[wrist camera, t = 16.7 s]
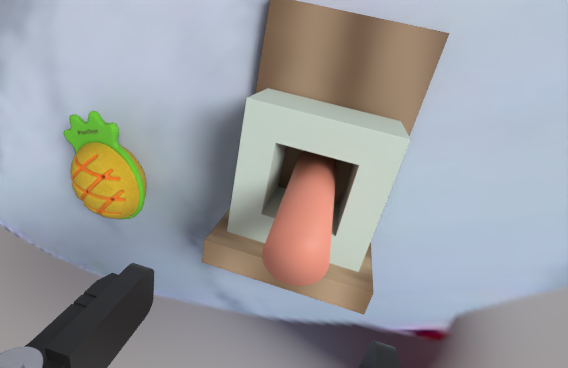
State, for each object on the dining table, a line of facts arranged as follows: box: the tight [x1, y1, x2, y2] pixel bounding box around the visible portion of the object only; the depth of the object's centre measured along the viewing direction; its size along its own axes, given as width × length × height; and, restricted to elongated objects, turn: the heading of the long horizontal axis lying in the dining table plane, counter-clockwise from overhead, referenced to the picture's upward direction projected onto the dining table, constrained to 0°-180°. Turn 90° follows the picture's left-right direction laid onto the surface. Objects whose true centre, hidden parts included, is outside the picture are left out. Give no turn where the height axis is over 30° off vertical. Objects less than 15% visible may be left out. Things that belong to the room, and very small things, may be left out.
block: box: [227, 88, 411, 272], centre depth 23 cm, size 10×10×5 cm
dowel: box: [262, 150, 337, 286], centre depth 20 cm, size 3×3×12 cm
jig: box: [202, 0, 449, 314], centre depth 22 cm, size 12×18×8 cm, turn 168°
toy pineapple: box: [64, 111, 146, 219], centre depth 28 cm, size 7×10×5 cm
